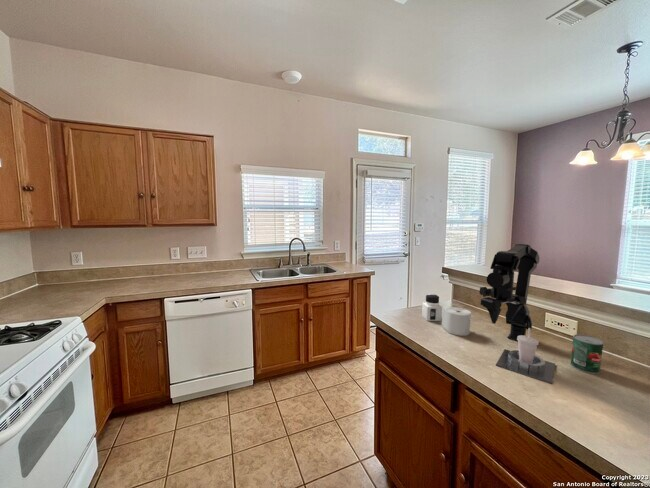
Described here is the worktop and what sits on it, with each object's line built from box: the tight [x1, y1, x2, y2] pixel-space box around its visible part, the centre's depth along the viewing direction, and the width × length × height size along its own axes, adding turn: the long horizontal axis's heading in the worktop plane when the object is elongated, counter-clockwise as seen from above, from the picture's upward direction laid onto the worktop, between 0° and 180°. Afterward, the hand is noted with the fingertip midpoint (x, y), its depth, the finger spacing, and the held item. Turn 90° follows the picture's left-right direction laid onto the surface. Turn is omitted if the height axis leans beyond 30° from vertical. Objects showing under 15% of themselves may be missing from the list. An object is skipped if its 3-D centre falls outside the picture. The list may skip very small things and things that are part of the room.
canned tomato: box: [569, 334, 604, 375], centre depth 98 cm, size 8×8×11 cm
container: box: [421, 293, 443, 322], centre depth 146 cm, size 8×8×13 cm
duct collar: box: [495, 348, 556, 385], centre depth 100 cm, size 16×16×3 cm
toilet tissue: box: [441, 306, 472, 337], centre depth 130 cm, size 11×12×10 cm
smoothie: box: [516, 328, 540, 363], centre depth 100 cm, size 6×6×14 cm
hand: (501, 321), depth 108 cm, fingers open, 9 cm apart
